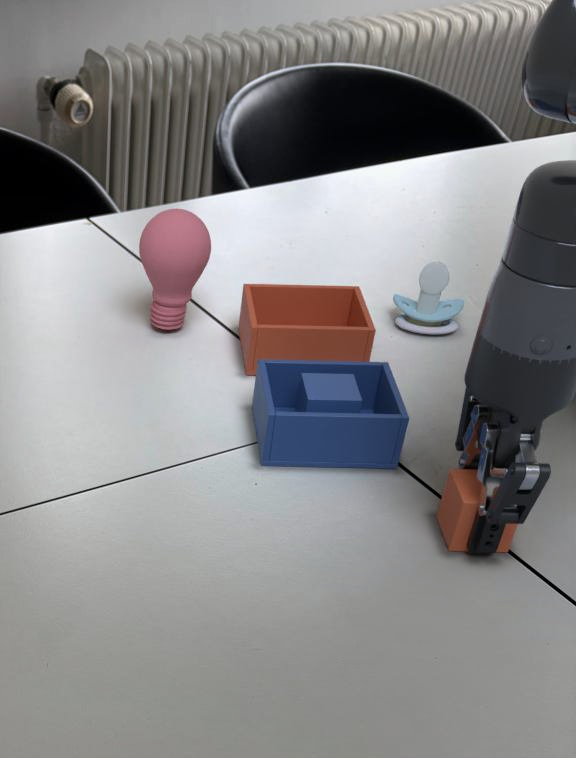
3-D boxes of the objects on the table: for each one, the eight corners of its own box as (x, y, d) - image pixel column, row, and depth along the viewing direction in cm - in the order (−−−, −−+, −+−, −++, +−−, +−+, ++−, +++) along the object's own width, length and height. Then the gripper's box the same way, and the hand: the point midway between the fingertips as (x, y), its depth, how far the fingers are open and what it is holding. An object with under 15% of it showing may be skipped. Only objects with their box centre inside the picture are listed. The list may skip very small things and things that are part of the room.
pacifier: (462, 341, 107) (457, 314, 112) (478, 284, 103) (472, 258, 107) (390, 335, 108) (387, 309, 112) (403, 278, 104) (400, 252, 108)
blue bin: (377, 411, 97) (388, 361, 93) (397, 469, 89) (409, 418, 86) (251, 408, 97) (257, 358, 93) (261, 465, 90) (268, 414, 86)
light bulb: (216, 324, 109) (227, 208, 101) (181, 349, 105) (190, 231, 97) (158, 306, 112) (165, 192, 104) (122, 330, 108) (126, 213, 100)
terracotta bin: (350, 332, 108) (359, 286, 105) (366, 377, 101) (376, 329, 98) (238, 329, 108) (243, 283, 105) (245, 375, 101) (251, 327, 98)
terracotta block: (492, 517, 84) (508, 470, 81) (508, 552, 81) (525, 504, 78) (436, 516, 84) (449, 468, 81) (448, 551, 81) (463, 502, 78)
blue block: (344, 419, 94) (353, 373, 91) (352, 447, 91) (362, 400, 88) (293, 418, 94) (301, 372, 91) (300, 446, 91) (307, 399, 88)
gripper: (628, 382, 66) (545, 590, 77) (559, 286, 76) (495, 481, 88) (509, 380, 66) (444, 587, 77) (457, 284, 76) (406, 479, 88)
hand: (472, 530), depth 82 cm, fingers closed on terracotta block, 4 cm apart
